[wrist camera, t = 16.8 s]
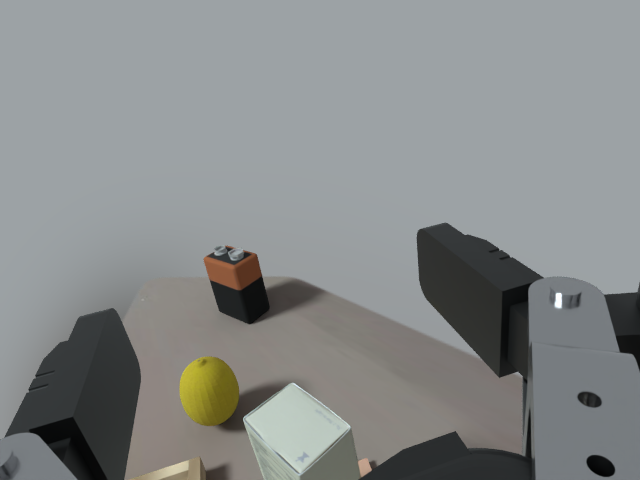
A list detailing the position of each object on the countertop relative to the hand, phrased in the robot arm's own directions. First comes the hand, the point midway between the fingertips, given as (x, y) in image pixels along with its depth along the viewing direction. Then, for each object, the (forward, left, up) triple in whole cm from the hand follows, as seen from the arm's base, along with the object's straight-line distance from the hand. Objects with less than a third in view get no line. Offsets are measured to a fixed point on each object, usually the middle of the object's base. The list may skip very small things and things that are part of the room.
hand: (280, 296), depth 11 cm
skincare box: (0, -10, -28) cm, 29 cm away
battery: (+3, -44, -28) cm, 52 cm away
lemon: (+8, -25, -28) cm, 38 cm away
